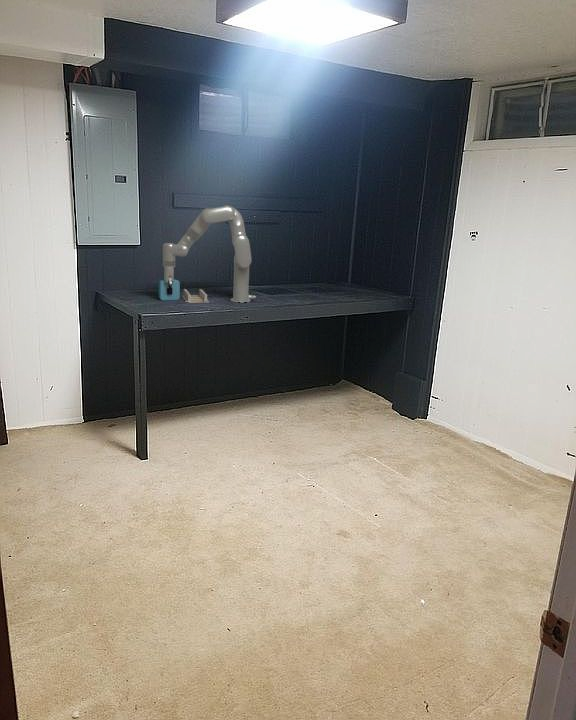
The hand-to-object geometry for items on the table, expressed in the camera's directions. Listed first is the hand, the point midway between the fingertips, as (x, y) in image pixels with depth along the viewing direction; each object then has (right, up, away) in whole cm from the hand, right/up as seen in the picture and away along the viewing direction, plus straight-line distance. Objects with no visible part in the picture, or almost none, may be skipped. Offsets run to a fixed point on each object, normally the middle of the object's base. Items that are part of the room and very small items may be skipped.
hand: (169, 293), depth 360 cm
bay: (+15, -3, +6) cm, 16 cm away
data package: (0, -4, +1) cm, 4 cm away
